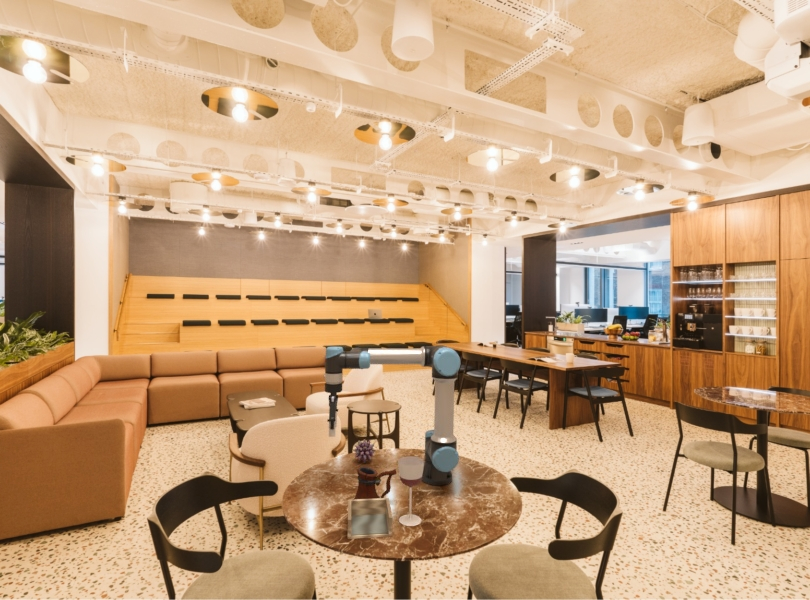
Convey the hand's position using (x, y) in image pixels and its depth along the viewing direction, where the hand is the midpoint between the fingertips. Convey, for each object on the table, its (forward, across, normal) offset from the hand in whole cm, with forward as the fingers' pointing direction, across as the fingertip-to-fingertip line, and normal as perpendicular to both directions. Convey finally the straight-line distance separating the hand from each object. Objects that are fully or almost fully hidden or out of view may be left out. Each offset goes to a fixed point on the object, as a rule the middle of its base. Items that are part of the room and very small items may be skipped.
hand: (332, 431), depth 178 cm
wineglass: (+28, +23, +31) cm, 48 cm away
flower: (+28, -37, +15) cm, 49 cm away
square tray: (+28, +26, +15) cm, 41 cm away
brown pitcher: (+28, +9, +18) cm, 35 cm away
